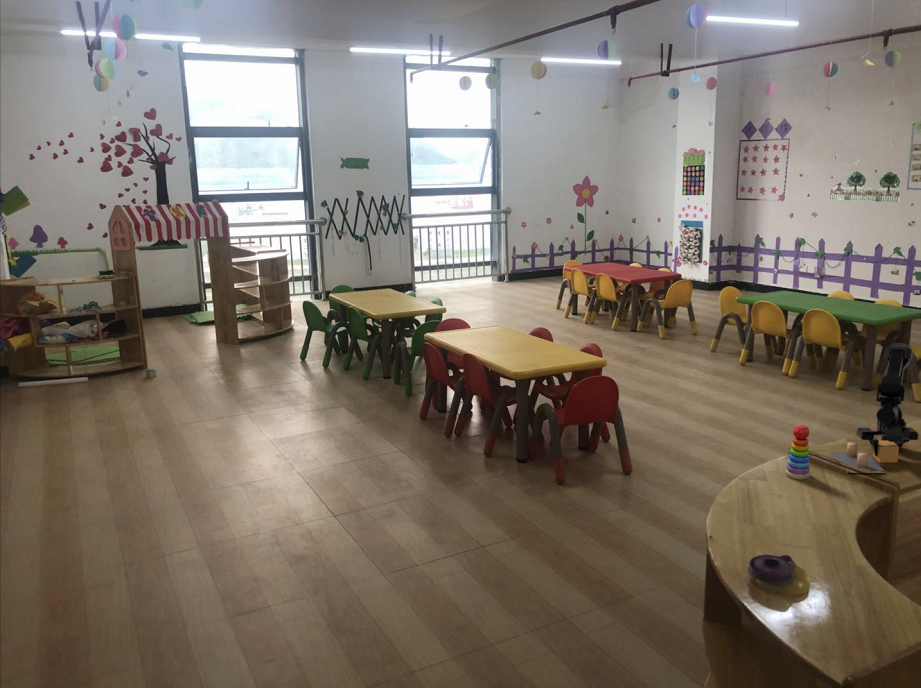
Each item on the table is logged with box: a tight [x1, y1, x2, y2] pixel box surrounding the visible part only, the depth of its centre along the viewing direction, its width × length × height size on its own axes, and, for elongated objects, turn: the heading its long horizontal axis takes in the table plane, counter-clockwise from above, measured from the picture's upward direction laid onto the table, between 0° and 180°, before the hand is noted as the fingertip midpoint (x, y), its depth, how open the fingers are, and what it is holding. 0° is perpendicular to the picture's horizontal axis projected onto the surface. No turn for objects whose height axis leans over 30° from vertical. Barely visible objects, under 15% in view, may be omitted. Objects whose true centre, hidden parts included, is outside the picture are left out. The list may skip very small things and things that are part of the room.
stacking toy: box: [785, 424, 811, 480], centre depth 255 cm, size 8×8×19 cm
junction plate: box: [829, 441, 886, 473], centre depth 263 cm, size 18×12×6 cm, turn 172°
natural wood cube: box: [872, 440, 900, 464], centre depth 265 cm, size 6×6×6 cm
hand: (885, 456), depth 266 cm, fingers closed on natural wood cube, 6 cm apart
